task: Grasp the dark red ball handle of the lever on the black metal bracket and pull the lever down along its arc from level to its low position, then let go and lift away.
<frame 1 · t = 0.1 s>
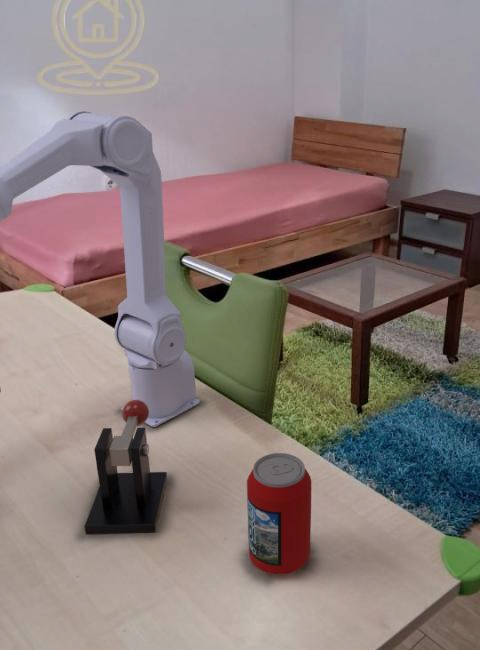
bracket: (129, 505, 78), on the table
lever: (129, 430, 78), point 8 cm above the table, hinge at 0.0°
beverage can: (279, 558, 70), on the table
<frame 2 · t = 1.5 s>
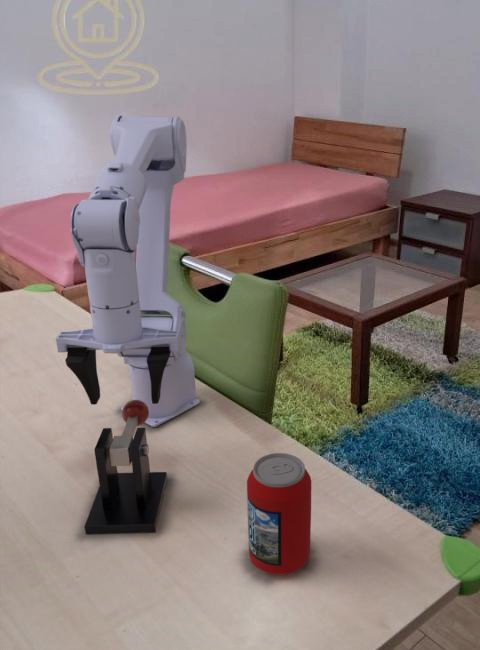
hand: (126, 400, 81), 10 cm above the table, tool pointing down, fingers open, 7 cm apart
nothing on the table moved.
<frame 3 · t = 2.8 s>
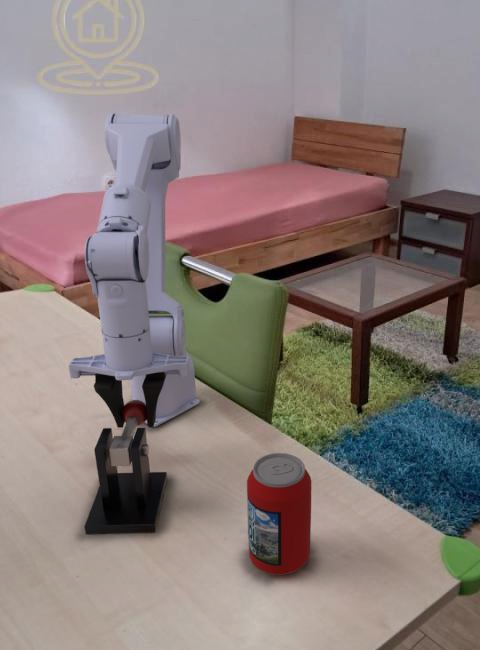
hand: (136, 423, 83), 6 cm above the table, tool pointing down, fingers closed on lever, 3 cm apart
lever: (129, 430, 78), point 8 cm above the table, hinge at 0.0°, touching gripper
everything else where it was.
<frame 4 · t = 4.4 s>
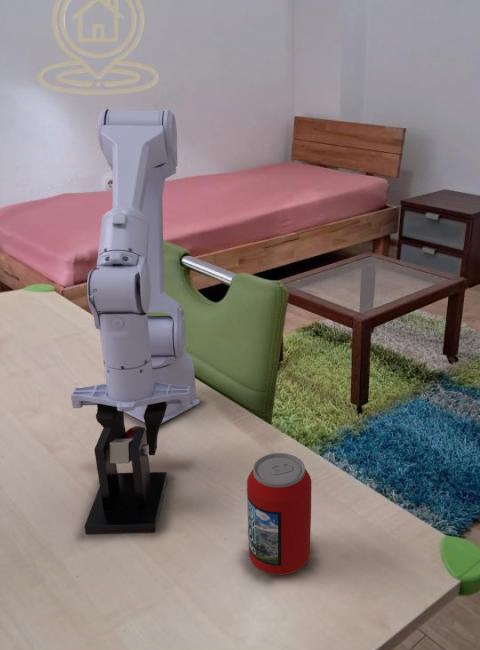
hand: (138, 451, 83), 3 cm above the table, tool pointing down, fingers closed on lever, 3 cm apart
lever: (130, 444, 79), point 6 cm above the table, hinge at -24.5°, touching gripper
everything else where it was.
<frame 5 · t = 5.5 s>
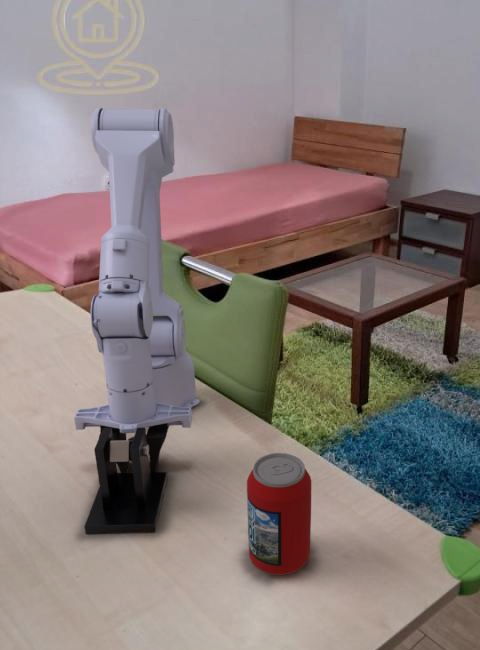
hand: (140, 471, 85), 0 cm above the table, tool pointing down, fingers closed on lever, 3 cm apart
lever: (130, 449, 79), point 6 cm above the table, hinge at -33.0°, touching gripper
everything else where it was.
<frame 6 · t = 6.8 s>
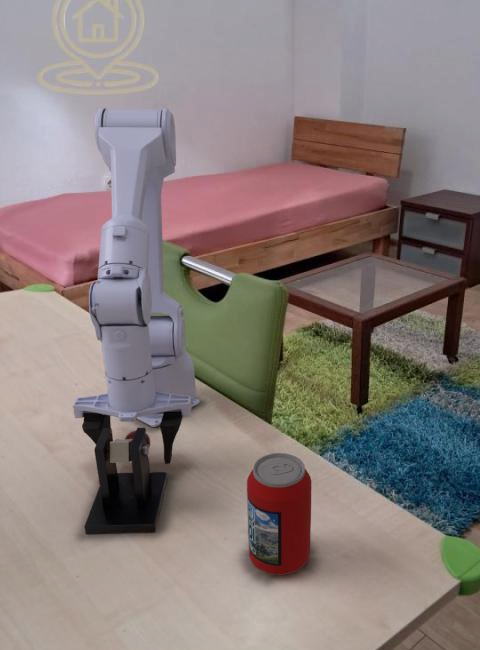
hand: (139, 460, 84), 1 cm above the table, tool pointing down, fingers open, 7 cm apart
lever: (130, 446, 79), point 6 cm above the table, hinge at -28.0°
everything else where it was.
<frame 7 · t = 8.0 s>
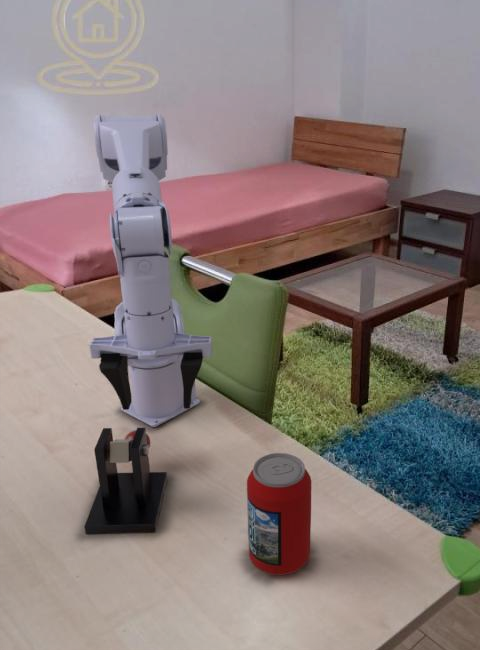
hand: (157, 405, 81), 9 cm above the table, tool pointing down, fingers open, 7 cm apart
nothing on the table moved.
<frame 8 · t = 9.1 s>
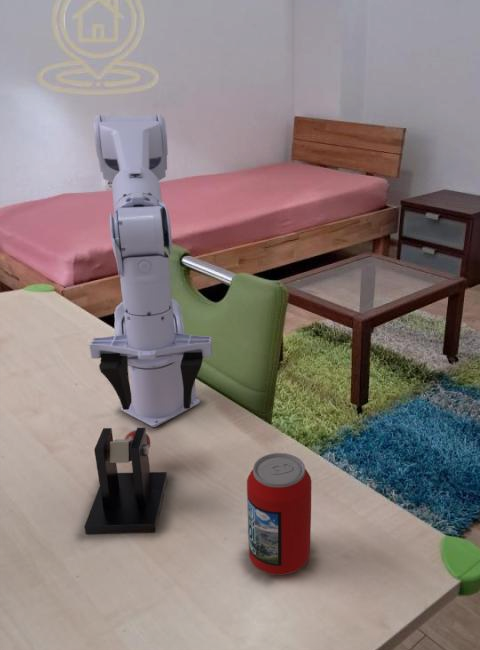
hand: (157, 405, 81), 9 cm above the table, tool pointing down, fingers open, 7 cm apart
nothing on the table moved.
at the end: lever at -28° (first picture: +0°); the gripper is holding nothing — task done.
